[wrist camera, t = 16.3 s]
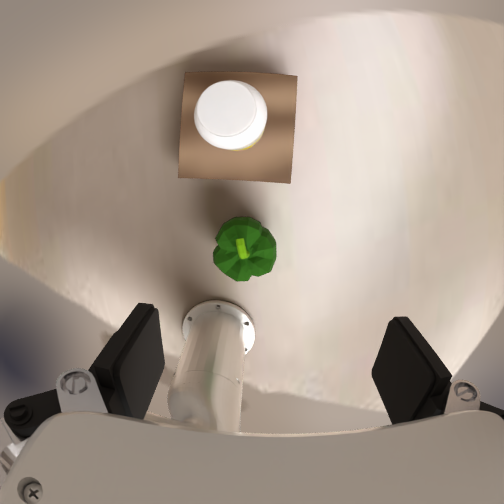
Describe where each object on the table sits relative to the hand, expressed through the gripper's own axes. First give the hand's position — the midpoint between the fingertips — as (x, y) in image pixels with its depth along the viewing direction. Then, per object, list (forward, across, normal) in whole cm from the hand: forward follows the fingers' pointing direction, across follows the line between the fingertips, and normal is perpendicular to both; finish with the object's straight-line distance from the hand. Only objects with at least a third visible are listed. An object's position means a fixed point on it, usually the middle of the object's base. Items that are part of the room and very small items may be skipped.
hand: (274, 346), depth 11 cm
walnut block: (+32, +4, -11) cm, 34 cm away
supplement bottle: (+26, +4, -11) cm, 29 cm away
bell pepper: (+32, +2, +5) cm, 33 cm away
